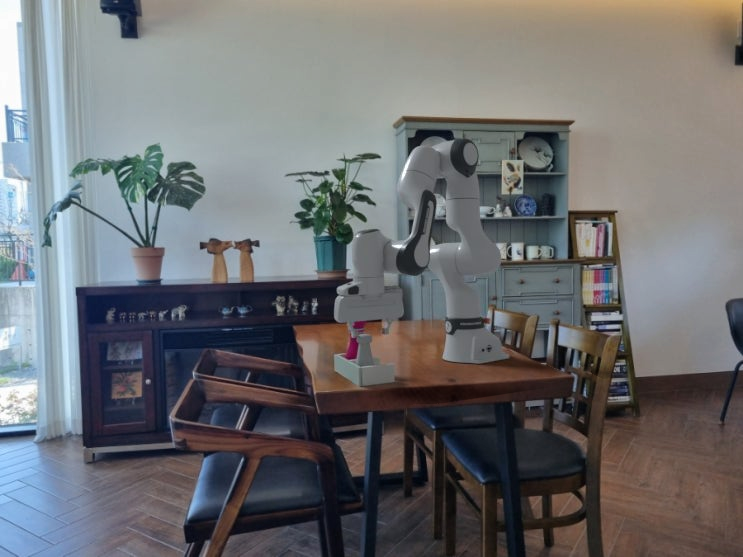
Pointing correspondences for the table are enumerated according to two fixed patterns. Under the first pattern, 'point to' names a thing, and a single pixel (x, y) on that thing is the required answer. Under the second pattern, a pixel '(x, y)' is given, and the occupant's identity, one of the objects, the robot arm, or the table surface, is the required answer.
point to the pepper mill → (354, 341)
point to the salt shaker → (364, 351)
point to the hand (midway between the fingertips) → (370, 335)
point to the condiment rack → (364, 371)
